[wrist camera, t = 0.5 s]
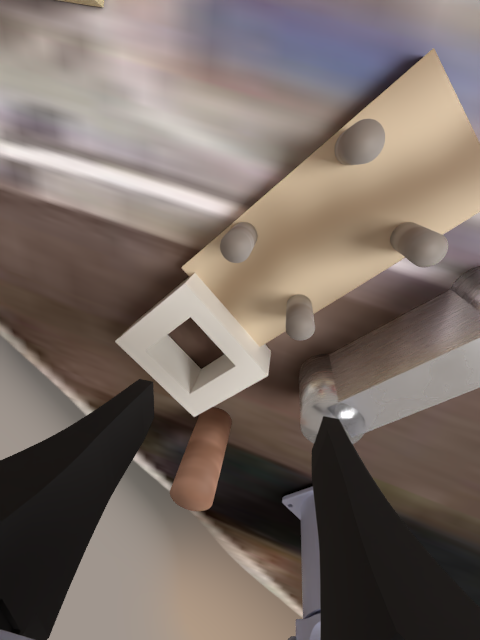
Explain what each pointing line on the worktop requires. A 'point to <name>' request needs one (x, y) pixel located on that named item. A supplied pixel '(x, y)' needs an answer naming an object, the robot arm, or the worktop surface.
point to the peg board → (351, 209)
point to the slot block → (177, 367)
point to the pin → (202, 461)
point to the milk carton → (87, 2)
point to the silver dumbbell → (397, 365)
